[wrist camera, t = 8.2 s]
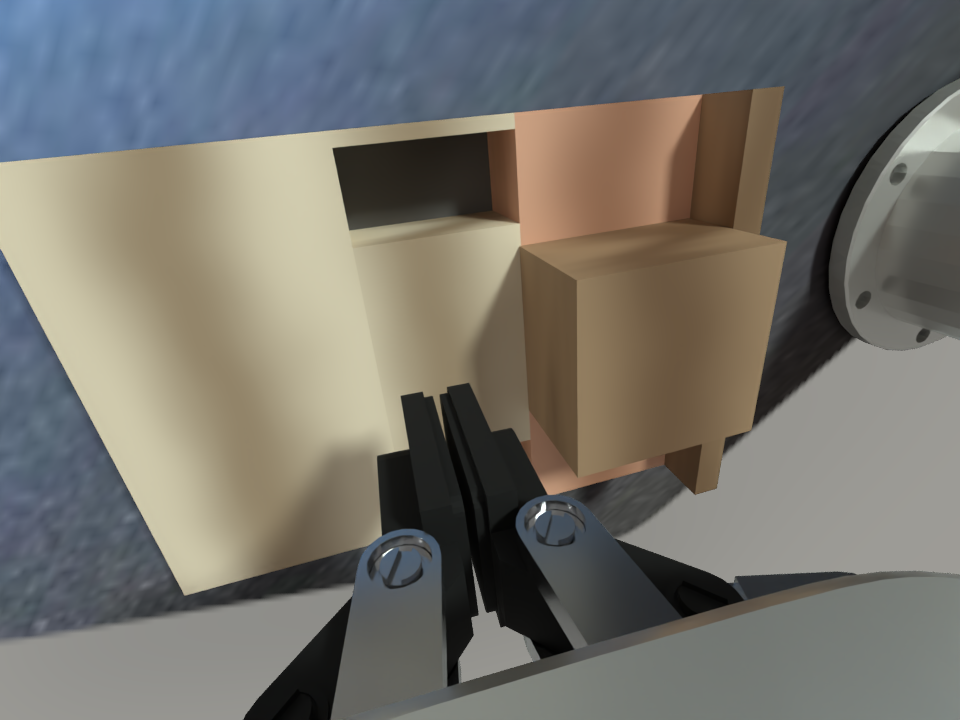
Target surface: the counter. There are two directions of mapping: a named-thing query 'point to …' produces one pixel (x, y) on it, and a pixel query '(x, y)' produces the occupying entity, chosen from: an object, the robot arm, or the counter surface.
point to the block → (646, 338)
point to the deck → (340, 299)
